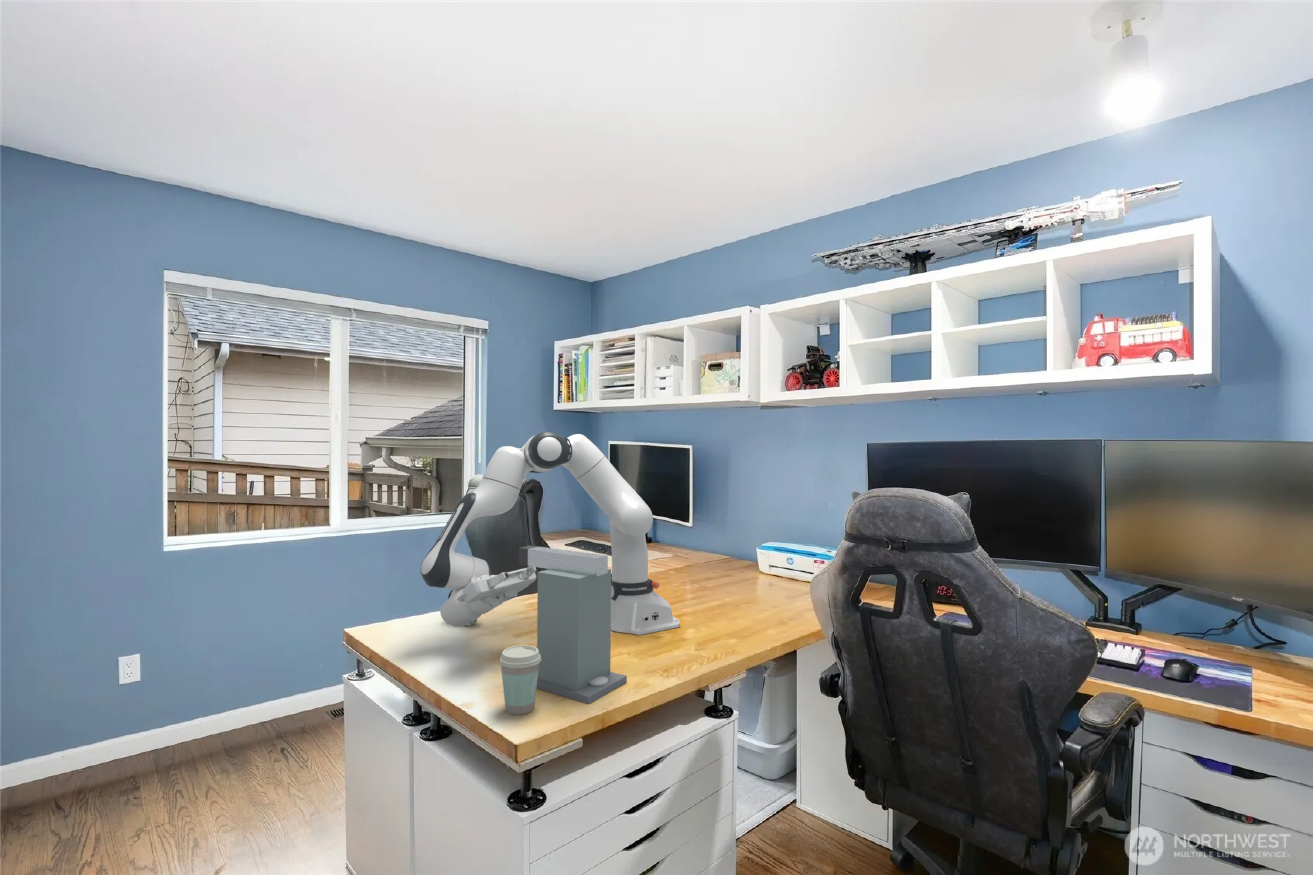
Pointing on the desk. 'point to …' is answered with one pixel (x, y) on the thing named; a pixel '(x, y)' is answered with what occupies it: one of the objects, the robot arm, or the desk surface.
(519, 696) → the coffee cup
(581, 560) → the lever bar
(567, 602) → the press column
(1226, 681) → the desk surface
